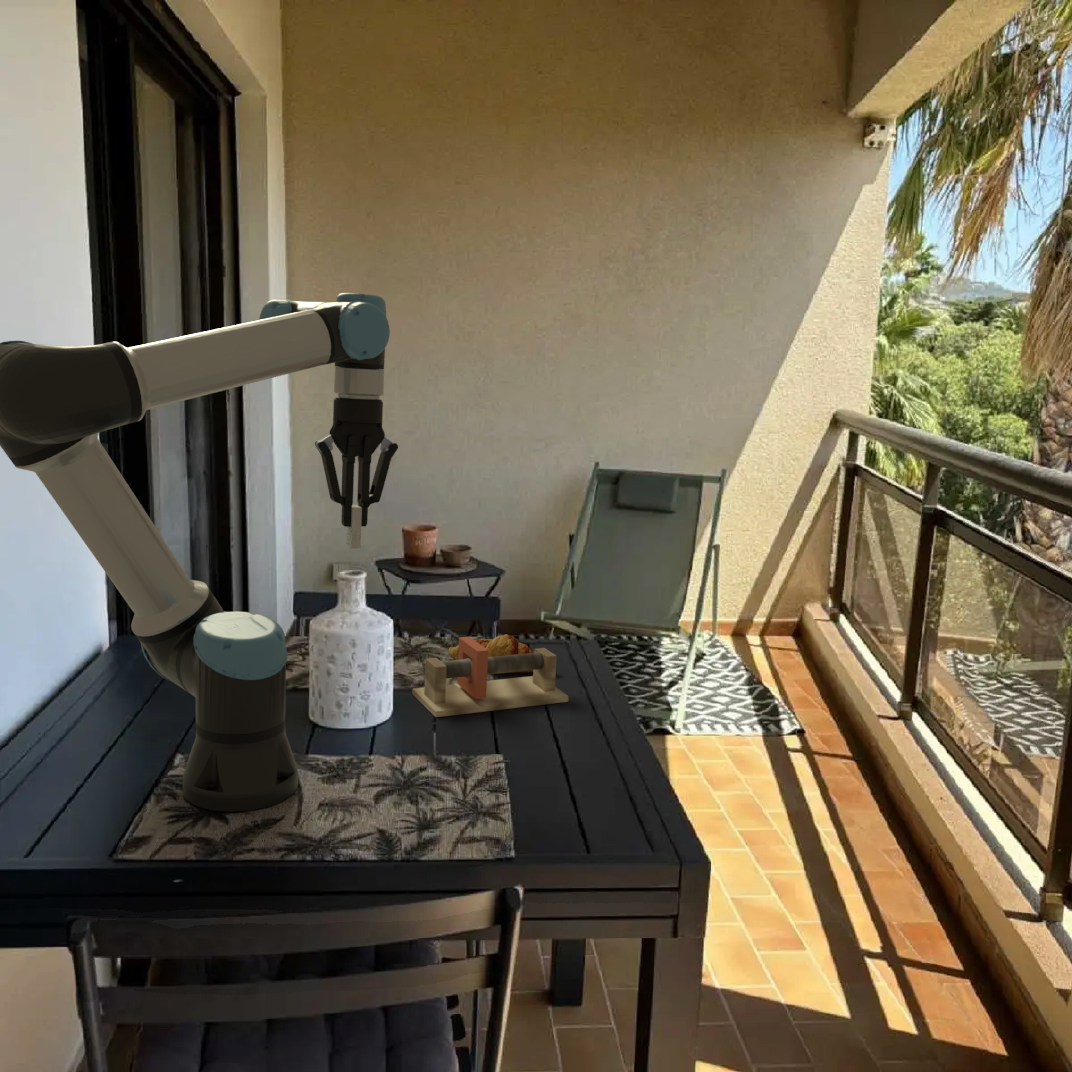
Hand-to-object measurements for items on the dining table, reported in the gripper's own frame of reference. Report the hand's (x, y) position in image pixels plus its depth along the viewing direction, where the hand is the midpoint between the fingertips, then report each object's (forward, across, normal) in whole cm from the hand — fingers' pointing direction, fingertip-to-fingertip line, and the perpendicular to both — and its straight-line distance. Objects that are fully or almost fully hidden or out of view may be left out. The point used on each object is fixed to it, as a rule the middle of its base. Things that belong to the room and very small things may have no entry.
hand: (353, 546), depth 159 cm
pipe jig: (+29, -27, -3) cm, 39 cm away
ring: (+27, -23, -3) cm, 35 cm away
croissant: (+29, -36, -20) cm, 50 cm away
